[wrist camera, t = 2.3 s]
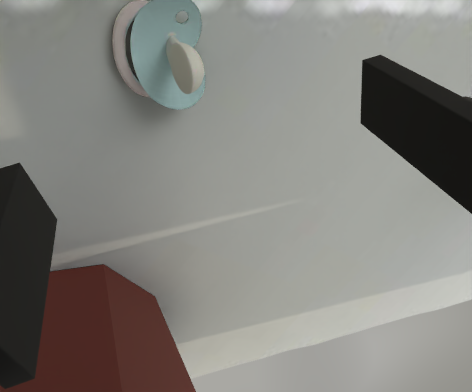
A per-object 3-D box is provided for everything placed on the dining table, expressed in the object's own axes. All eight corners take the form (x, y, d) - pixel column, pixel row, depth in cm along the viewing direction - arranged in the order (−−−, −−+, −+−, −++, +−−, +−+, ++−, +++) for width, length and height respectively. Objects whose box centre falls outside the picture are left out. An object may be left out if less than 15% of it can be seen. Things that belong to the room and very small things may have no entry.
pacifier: (123, 102, 28) (203, 93, 29) (126, 142, 23) (221, 129, 25) (101, -8, 24) (195, -14, 25) (98, 13, 19) (215, 5, 20)
